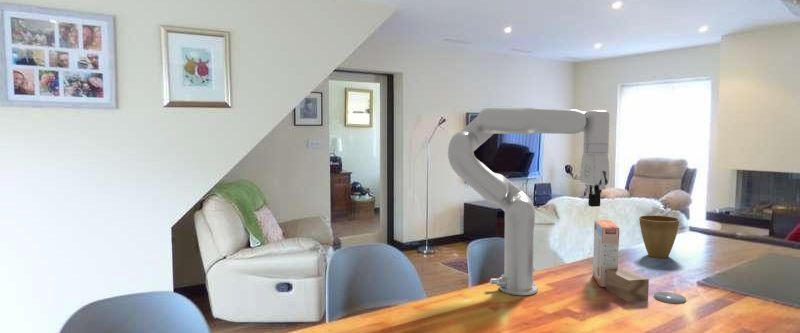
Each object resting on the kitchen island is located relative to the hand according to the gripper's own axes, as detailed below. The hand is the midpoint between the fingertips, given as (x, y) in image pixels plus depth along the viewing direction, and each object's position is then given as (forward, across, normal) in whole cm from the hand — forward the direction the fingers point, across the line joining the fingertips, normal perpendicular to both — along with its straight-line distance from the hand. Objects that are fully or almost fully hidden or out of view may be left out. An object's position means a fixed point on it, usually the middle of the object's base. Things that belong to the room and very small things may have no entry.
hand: (594, 205), depth 164 cm
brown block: (+29, +2, +11) cm, 31 cm away
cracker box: (+29, -11, +11) cm, 33 cm away
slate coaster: (+29, +8, +22) cm, 37 cm away
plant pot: (+29, -39, +51) cm, 71 cm away
